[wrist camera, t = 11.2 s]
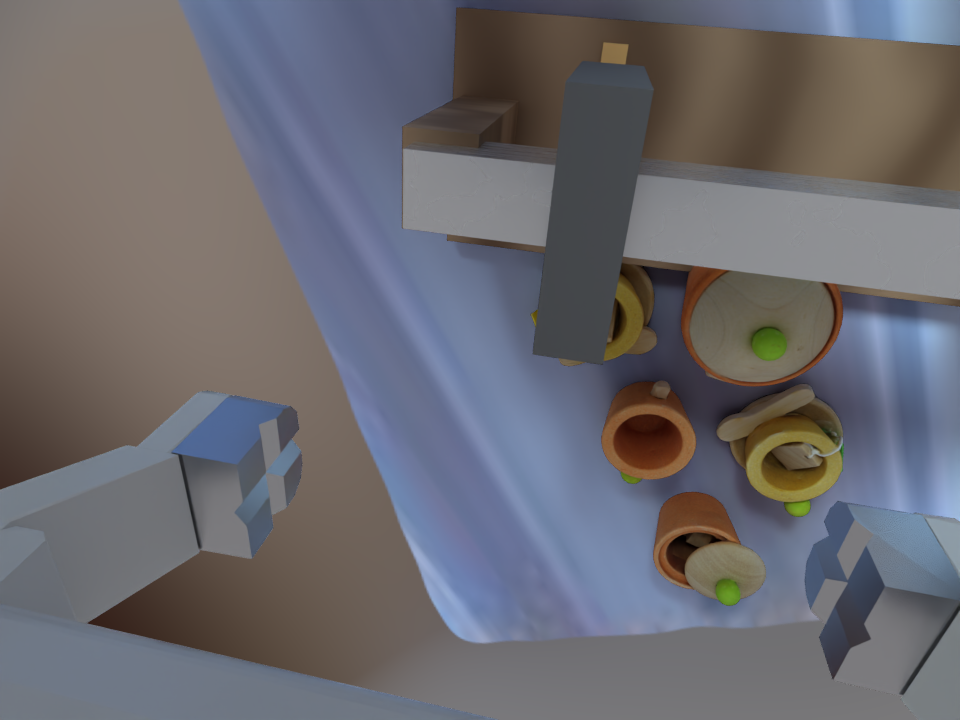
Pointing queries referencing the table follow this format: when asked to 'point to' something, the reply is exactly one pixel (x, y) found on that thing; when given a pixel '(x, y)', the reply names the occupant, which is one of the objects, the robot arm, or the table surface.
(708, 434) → the table surface
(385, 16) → the table surface
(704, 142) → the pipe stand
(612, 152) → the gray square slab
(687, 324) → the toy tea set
